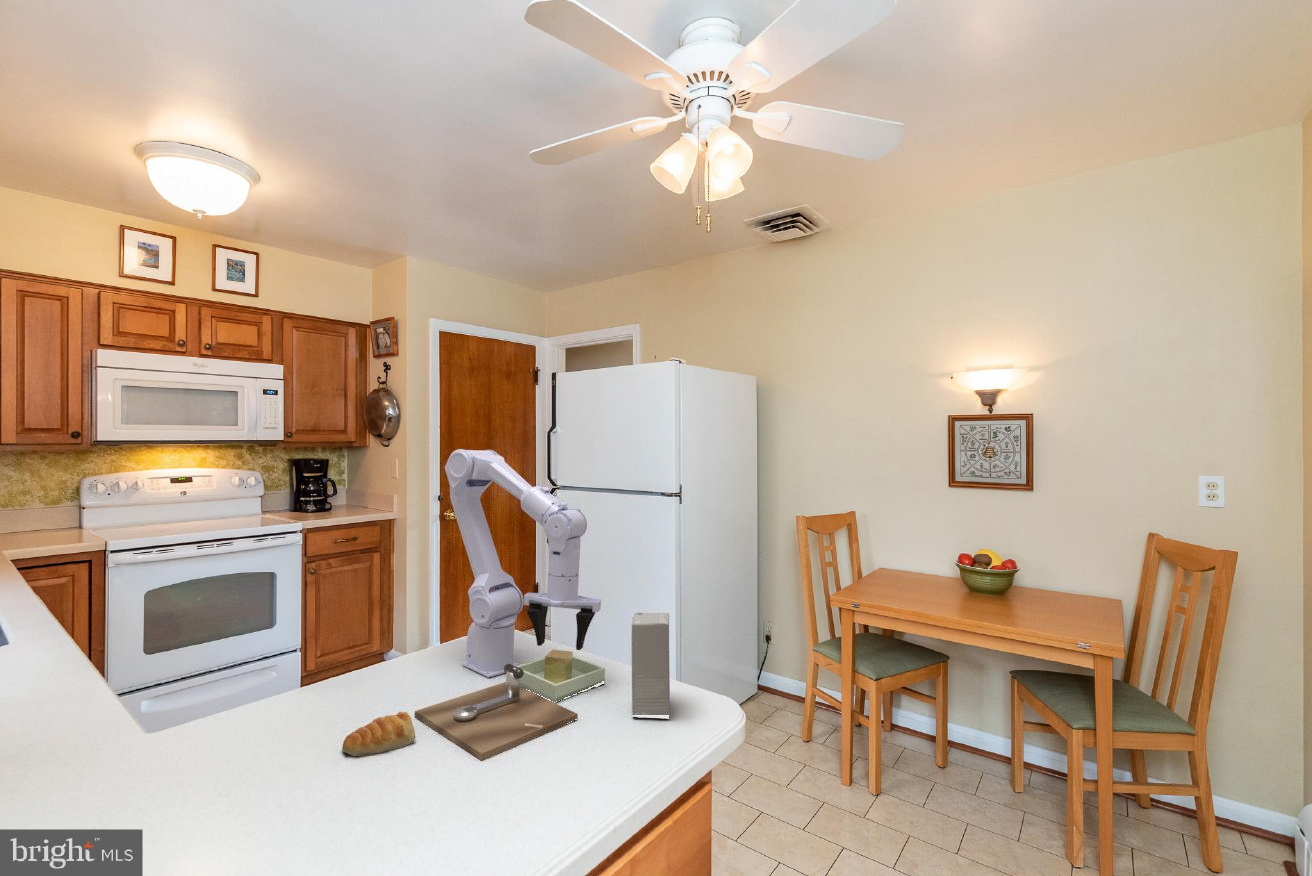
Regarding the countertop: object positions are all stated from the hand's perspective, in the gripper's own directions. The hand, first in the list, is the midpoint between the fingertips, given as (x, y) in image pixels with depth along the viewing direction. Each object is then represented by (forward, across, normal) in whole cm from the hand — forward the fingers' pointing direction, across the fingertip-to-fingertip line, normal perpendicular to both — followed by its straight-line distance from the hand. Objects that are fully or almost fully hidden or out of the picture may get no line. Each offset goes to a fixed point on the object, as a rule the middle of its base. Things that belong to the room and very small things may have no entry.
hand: (560, 646), depth 113 cm
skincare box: (+7, +19, -6) cm, 21 cm away
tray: (+7, 0, 0) cm, 7 cm away
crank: (+6, -7, -16) cm, 18 cm away
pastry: (+8, -17, -28) cm, 34 cm away
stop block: (+6, 0, -1) cm, 6 cm away
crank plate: (+7, -5, -16) cm, 18 cm away
